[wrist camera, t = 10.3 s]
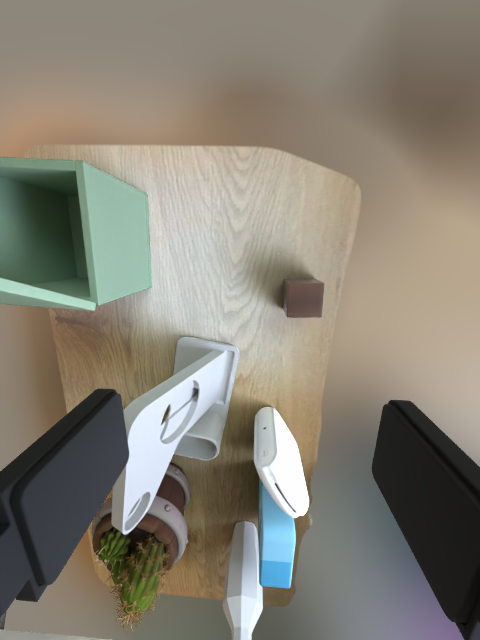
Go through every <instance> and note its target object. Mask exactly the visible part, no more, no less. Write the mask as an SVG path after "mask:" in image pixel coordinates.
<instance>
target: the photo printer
mask: <svg viewBox="0 0 480 640" xmlns="http://www.w3.org/2000/svg"><path fill="white" fill-rule="evenodd" d="M254 463H255V467H256V470H257V472H258V474H259V477H260V479H261V480H262V482H263V484H264V486H265V488H266V489H267V491H268V492H269V494H270V495H271V497H272V498H273V500H274V501H275V502H276V504H277V505H278V506H279V507H280V508H281V509H282V510H283V511H284V512H285V513H286V514H288V515H289V516H291V517H293V518H296V517H298V516H303V515H304V514H305V513H306V511H307V509H308V506H309V498H308V493H307V488H306V483H305V479H304V474H303V469H302V464H301V459H300V454H299V450H298V446H297V444H296V442H295V440H294V438H293V436H292V434H291V433H290V431H289V429H288V428H287V426H286V424H285V423H284V421H283V419H282V418H281V416H280V415H279V413H278V412H277V411H276V409H275V408H273V407H272V408H271V407H264V408H262V409H260V410H259V411H258V412H257V414H256V415H255V424H254Z"/></svg>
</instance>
